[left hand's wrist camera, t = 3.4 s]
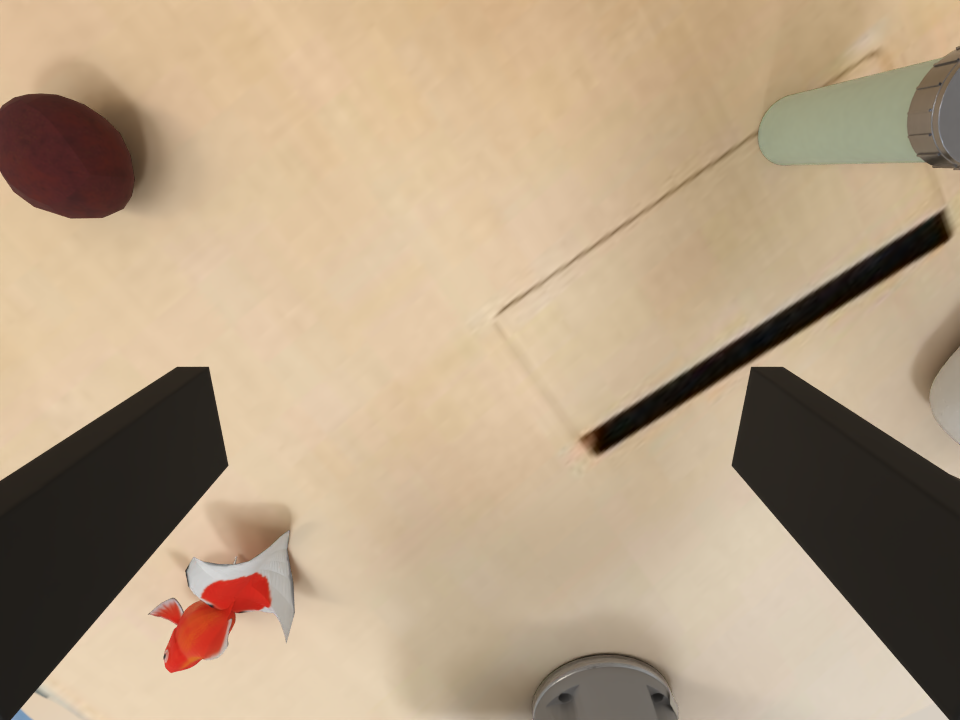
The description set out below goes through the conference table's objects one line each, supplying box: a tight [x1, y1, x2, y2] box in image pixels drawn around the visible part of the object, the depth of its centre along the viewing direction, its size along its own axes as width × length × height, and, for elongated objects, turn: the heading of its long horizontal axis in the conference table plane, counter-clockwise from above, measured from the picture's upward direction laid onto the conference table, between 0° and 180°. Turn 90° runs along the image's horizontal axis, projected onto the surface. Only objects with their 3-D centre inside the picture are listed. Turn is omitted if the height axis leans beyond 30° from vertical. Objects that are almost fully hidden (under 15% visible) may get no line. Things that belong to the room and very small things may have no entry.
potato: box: [0, 94, 135, 218], centre depth 33 cm, size 7×8×7 cm
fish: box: [149, 530, 295, 673], centre depth 45 cm, size 11×16×10 cm
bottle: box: [758, 58, 942, 165], centre depth 29 cm, size 5×5×15 cm
